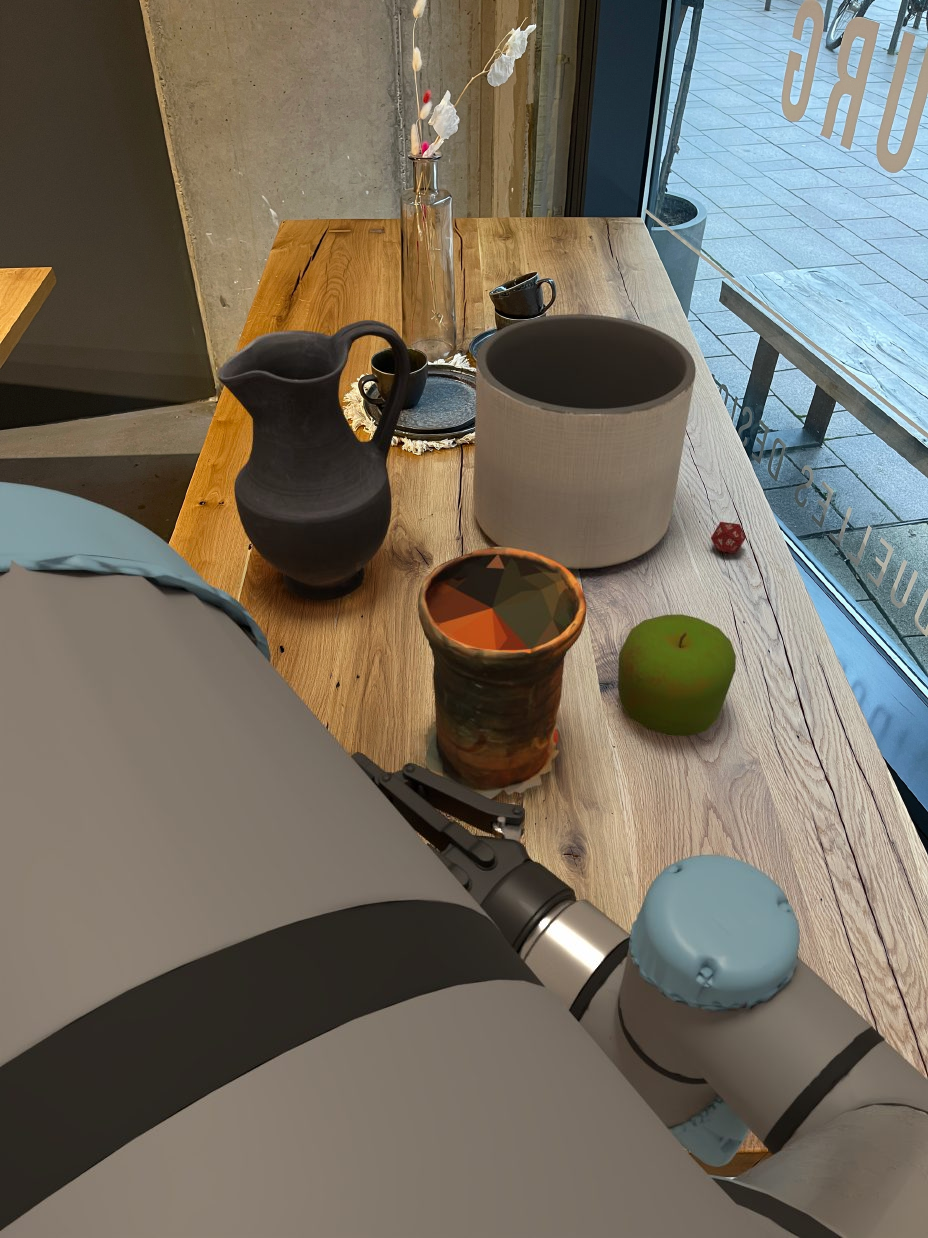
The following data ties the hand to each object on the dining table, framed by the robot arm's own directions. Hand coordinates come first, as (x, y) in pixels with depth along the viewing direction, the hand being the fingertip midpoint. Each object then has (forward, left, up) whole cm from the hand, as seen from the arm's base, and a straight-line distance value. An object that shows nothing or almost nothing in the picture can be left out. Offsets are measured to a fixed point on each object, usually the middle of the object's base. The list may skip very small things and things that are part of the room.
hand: (312, 746), depth 71 cm
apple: (+29, -23, -15) cm, 40 cm away
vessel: (+17, -9, -15) cm, 25 cm away
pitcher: (+35, +19, -15) cm, 43 cm away
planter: (+57, -3, -15) cm, 59 cm away
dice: (+58, -23, -15) cm, 64 cm away
